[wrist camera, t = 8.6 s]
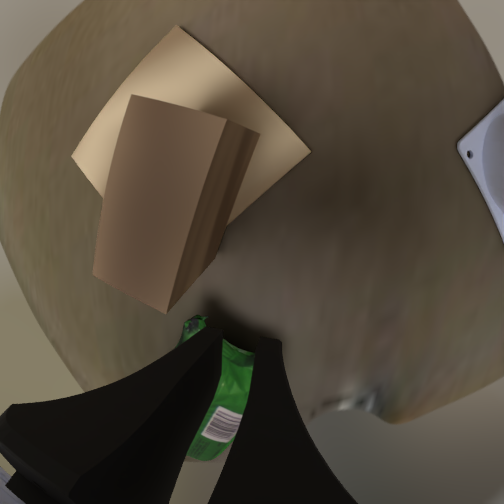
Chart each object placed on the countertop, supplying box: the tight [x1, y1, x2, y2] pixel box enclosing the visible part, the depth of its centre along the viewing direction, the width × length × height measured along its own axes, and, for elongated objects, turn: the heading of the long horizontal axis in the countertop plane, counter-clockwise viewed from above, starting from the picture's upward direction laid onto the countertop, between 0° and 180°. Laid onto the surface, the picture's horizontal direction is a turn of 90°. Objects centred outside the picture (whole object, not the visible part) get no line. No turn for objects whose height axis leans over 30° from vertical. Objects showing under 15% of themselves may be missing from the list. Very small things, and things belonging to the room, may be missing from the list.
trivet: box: [72, 25, 311, 226], centre depth 17 cm, size 12×12×1 cm
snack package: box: [175, 315, 255, 461], centre depth 20 cm, size 7×16×5 cm, turn 156°
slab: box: [93, 94, 260, 314], centre depth 14 cm, size 4×8×7 cm, turn 159°
